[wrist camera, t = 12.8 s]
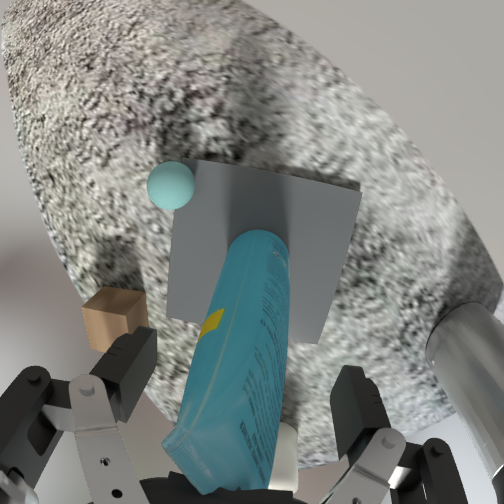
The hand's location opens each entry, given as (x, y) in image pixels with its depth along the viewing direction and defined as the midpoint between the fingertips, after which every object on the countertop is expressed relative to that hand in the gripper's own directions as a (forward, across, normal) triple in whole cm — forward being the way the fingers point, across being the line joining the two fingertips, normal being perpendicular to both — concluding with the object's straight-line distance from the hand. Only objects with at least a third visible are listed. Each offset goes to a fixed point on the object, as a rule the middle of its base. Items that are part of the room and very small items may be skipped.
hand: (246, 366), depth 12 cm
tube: (+13, 0, 0) cm, 13 cm away
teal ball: (+12, +7, -5) cm, 15 cm away
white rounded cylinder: (+13, -6, +23) cm, 27 cm away
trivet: (+13, 0, 0) cm, 13 cm away
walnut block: (+11, +10, +7) cm, 16 cm away
